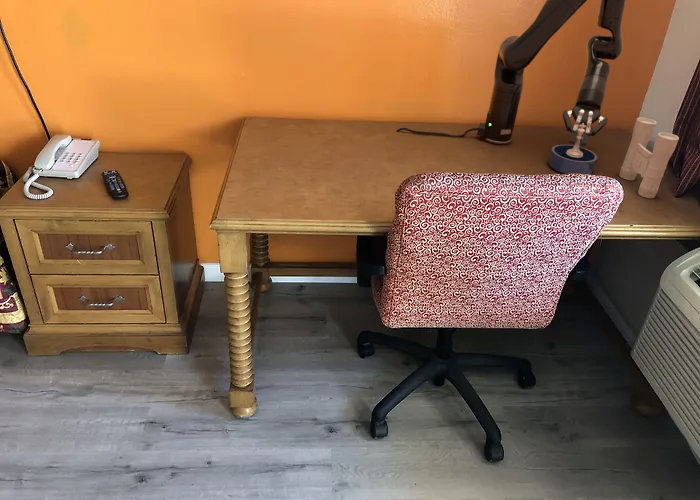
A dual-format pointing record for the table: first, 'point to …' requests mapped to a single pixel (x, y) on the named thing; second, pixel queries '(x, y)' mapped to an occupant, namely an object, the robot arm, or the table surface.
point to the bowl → (572, 160)
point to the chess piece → (577, 144)
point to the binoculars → (648, 156)
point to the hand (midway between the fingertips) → (577, 144)
